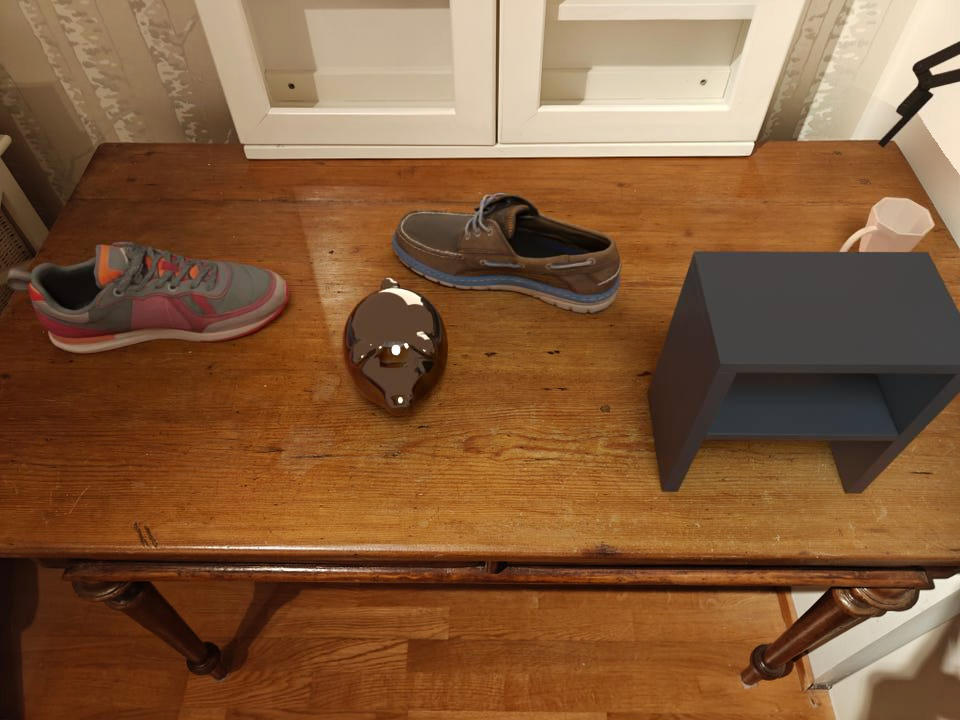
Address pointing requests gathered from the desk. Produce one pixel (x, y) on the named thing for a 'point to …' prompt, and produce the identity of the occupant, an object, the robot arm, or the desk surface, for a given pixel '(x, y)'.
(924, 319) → the shelf
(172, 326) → the sneaker
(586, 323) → the desk surface
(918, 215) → the cup
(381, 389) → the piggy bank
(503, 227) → the boat shoe
